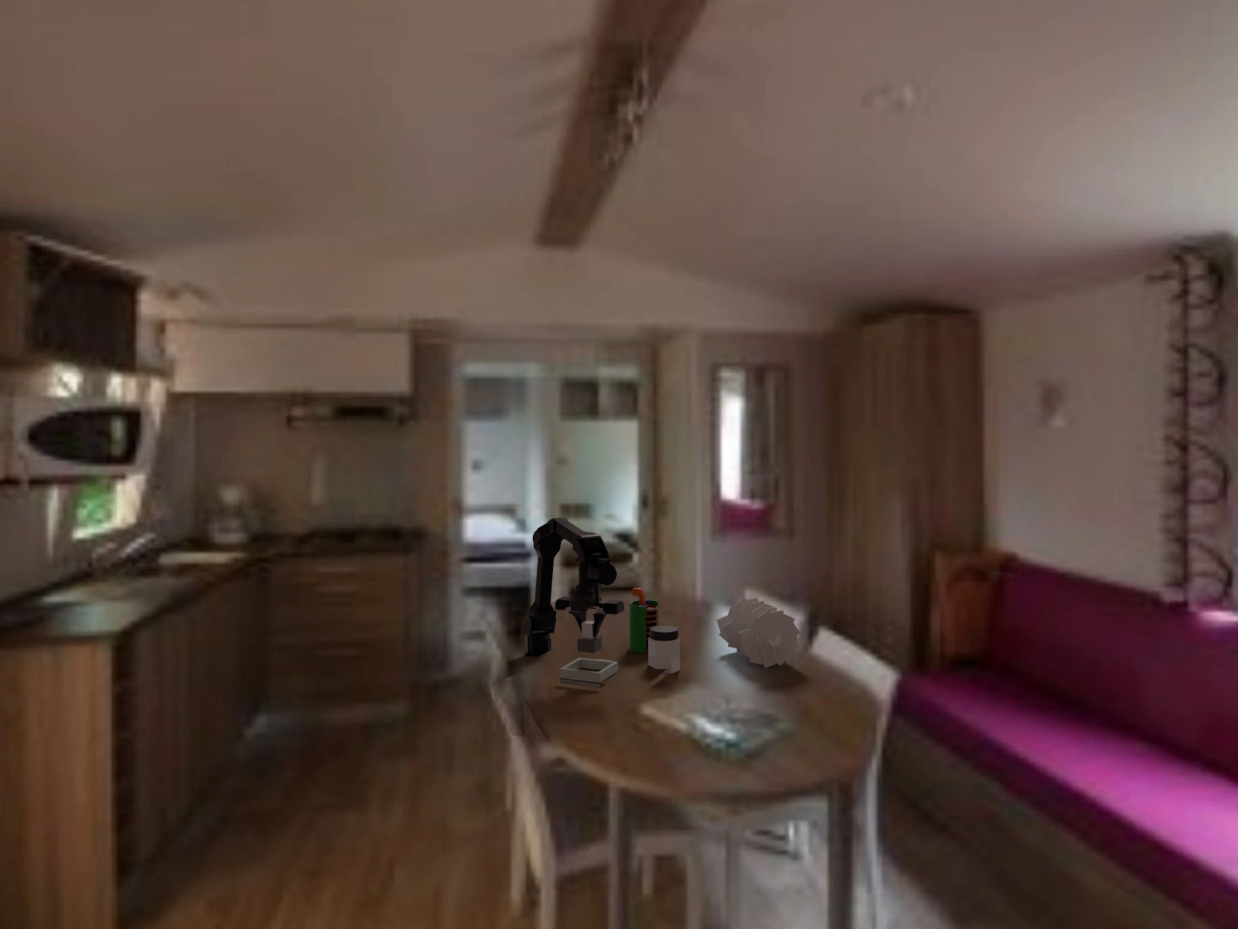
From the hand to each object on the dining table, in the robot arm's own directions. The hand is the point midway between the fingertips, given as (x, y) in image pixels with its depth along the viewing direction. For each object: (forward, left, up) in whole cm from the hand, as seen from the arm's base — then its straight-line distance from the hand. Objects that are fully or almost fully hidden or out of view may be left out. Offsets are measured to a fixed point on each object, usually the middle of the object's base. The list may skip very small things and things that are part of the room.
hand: (589, 636), depth 238 cm
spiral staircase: (+38, +37, -12) cm, 54 cm away
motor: (+4, +31, -12) cm, 33 cm away
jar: (+16, +16, -12) cm, 26 cm away
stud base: (-2, +13, -12) cm, 18 cm away
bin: (0, 0, -12) cm, 12 cm away
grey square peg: (0, 0, -4) cm, 4 cm away
